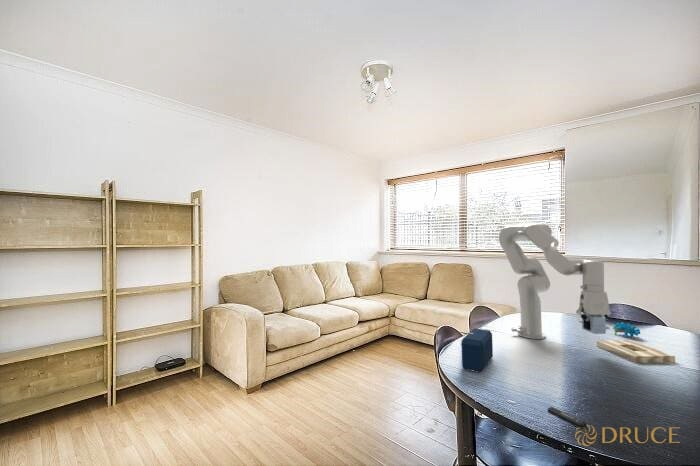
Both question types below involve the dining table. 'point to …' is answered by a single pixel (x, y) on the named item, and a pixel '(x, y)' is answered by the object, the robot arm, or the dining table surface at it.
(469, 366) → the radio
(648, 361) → the frame
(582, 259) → the robot arm
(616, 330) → the blue toy dinosaur
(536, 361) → the dining table surface
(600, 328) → the block
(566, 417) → the dark grey bar
